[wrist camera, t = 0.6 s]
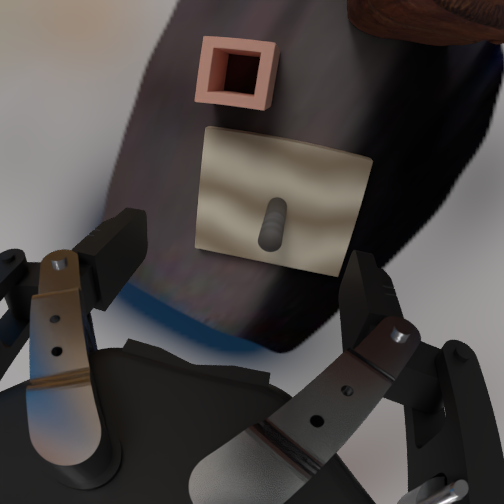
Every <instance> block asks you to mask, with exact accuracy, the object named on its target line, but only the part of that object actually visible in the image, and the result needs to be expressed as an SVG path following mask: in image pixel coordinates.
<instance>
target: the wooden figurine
mask: <svg viewBox="0 0 504 504" xmlns="http://www.w3.org/2000/svg"><path fill="white" fill-rule="evenodd" d="M347 10H348V19H349V20H350V22H351V23H352V24H353V25H354V26H355V27H356V28H358V29H359V30H361V31H364V32H366V33H368V34H370V35H373V36H376V37H381V38H387V39H397V40H405V41H412V42H416V43H421V44H426V45H435V46H447V45H466V44H474V43H477V42H480V41H482V40H488V41H489V42H490V43H494V44H502V43H504V0H347Z"/></svg>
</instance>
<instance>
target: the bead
mask: <svg viewBox="0 0 504 504" xmlns="http://www.w3.org/2000/svg"><path fill="white" fill-rule="evenodd" d="M229 54H235V55H244V56H253V57H260V63H259V69H258V75H257V82H256V88H255V94H248V93H240V92H233V91H224V85H225V78H226V71H227V65H228V58H229ZM279 56H280V50H279V48H278V46H277V45H276V43H273V42H265V41H257V40H248V39H238V38H227V37H211V36H204V37H203V44H202V50H201V57H200V64H199V71H198V79H197V87H196V95H195V102H203V103H212V104H221V105H229V106H236V107H244V108H250V109H257V110H263V111H264V110H266V109H268V108H269V107H271V103H272V97H273V91H274V85H275V79H276V73H277V67H278V62H279Z"/></svg>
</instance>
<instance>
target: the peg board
mask: <svg viewBox="0 0 504 504" xmlns="http://www.w3.org/2000/svg"><path fill="white" fill-rule="evenodd" d="M372 163H373V160H372V159H371V158H369V157H365V156H361V155H358V154H354V153H350V152H346V151H342V150H338V149H333V148H329V147H325V146H320V145H316V144H311V143H307V142H302V141H297V140H292V139H287V138H282V137H277V136H271V135H266V134H260V133H254V132H248V131H241V130H235V129H228V128H221V127H214V126H208V127H206V128H205V137H204V146H203V155H202V165H201V176H200V186H199V198H198V210H197V223H196V237H195V248H199V249H204V250H209V251H213V252H218V253H223V254H228V255H233V256H237V257H242V258H247V259H252V260H257V261H262V262H267V263H271V264H276V265H281V266H286V267H291V268H296V269H301V270H306V271H311V272H316V273H321V274H326V275H330V276H335V277H338V275H339V272H340V269H341V266H342V263H343V260H344V257H345V254H346V251H347V248H348V245H349V242H350V239H351V235H352V232H353V229H354V226H355V223H356V219H357V216H358V213H359V209H360V206H361V203H362V199H363V196H364V192H365V189H366V185H367V182H368V178H369V174H370V171H371V167H372Z"/></svg>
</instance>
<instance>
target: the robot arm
mask: <svg viewBox="0 0 504 504" xmlns="http://www.w3.org/2000/svg"><path fill="white" fill-rule="evenodd" d="M147 248H148V241H147V216H146V212H145V211H144V210H139V209H133V208H125V209H124V210H123V211H122V212H121V213H119V214H118V215H117V216H116V217H115V218H114V217H113V218H111V219H109V220H106V221H104V222H102V223H101V224H100V225H99V226H98V227H97V228H96V229H95V230H93V231H92V232H91V233H90V234H89V235H88V236H86V237H85V238H84V239H83V240H82V241H81V242H80V243H79V244H77V245H76V246H75V247H74V248H73V249H72V250H66V249H64V250H57V251H54V252H51V253H49V254H48V255H46V256H45V257H44V258H43V260H42V261H41V262H39V263H38V262H27V260H26V257H25V253H24V252H23V251H22V250H20V249H9V250H7V251H4V252H2V253H0V301H1V300H2V299H3V298H5V300H6V303H7V305H8V308H9V309H8V310H7V312H6V313H5V314H4V315H3V316H2V318H1V319H0V380H1V379H2V377H3V376H4V374H5V372H6V371H7V369H8V368H9V366H10V365H11V363H12V362H13V360H14V359H15V357H16V356H17V354H18V353H19V352H20V350H21V349H22V347H23V346H24V344H25V343H26V341H27V340H28V338H29V337H30V341H29V345H30V346H29V352H30V353H29V354H30V355H29V359H30V379H29V380H27V381H24V382H22V383H20V384H17V385H15V386H13V387H11V388H8V389H6V390H4V391H1V392H0V504H376V503H375V502H374V501H373V500H372V498H371V497H370V496H369V494H367V492H366V491H365V489H364V488H363V487H362V486H361V484H360V483H359V482H358V481H357V479H356V478H355V477H354V475H353V474H352V473H351V471H350V470H349V469H348V467H347V466H346V465H345V464H344V462H343V461H342V460H341V458H340V457H339V456H338V454H337V453H336V452H337V451H338V450H339V449H340V448H341V447H342V446H343V445H344V444H345V442H346V441H347V440H348V439H349V438H350V437H351V435H352V434H353V433H354V432H355V431H356V430H357V428H358V427H359V426H360V425H361V424H362V423H363V421H364V420H365V419H366V418H367V417H368V415H369V414H370V413H371V412H372V410H373V409H374V408H375V406H376V405H377V404H378V403H379V401H380V400H381V399H382V397H384V398H386V399H389V400H392V401H394V402H397V403H400V404H402V405H404V414H405V425H406V441H407V460H408V493H407V494H405V495H404V496H403V497H402V498H401V499H400V500H399V501H398V503H397V504H504V458H503V452H502V447H501V442H500V437H499V433H498V428H497V424H496V420H495V416H494V412H493V408H492V405H491V401H490V397H489V394H488V391H487V387H486V384H485V381H484V377H483V374H482V371H481V368H480V365H479V362H478V359H477V357H476V354H475V353H474V351H473V350H472V349H471V348H470V347H469V346H468V345H466V344H465V343H463V342H461V341H458V340H449V341H447V342H446V343H445V344H444V346H443V347H442V348H441V349H439V348H437V347H434V346H431V345H429V344H426V343H424V342H422V341H421V336H420V333H419V331H418V330H417V328H416V327H415V326H414V325H413V324H412V323H411V322H409V321H408V320H406V319H404V317H403V314H402V311H401V308H400V305H399V301H398V298H397V296H396V292H395V289H394V286H393V283H392V280H391V278H390V277H389V275H388V274H387V273H386V272H385V271H384V270H383V269H380V268H377V265H376V262H375V258H374V255H373V254H371V253H366V252H361V251H356V250H354V251H353V252H352V254H351V256H350V259H349V262H348V265H347V268H346V271H345V274H344V277H343V280H342V283H341V286H340V290H339V309H340V320H341V332H342V346H343V353H342V354H341V355H340V356H339V357H338V358H337V359H336V360H335V361H334V362H333V363H332V364H330V365H329V366H328V367H327V368H326V369H325V370H324V371H323V372H322V373H321V374H319V375H318V376H317V377H316V378H315V379H314V380H313V381H312V382H311V383H309V384H308V385H307V386H306V387H305V388H304V389H302V390H301V391H300V392H299V393H298V394H297V395H295V396H294V397H291V396H290V395H289V394H287V393H286V392H284V391H283V390H281V389H279V388H277V387H276V386H273V385H271V384H269V379H270V373H268V372H263V371H258V370H252V369H247V368H242V367H238V366H221V365H220V366H219V365H218V366H217V365H195V364H191V363H189V362H187V361H185V360H183V359H181V358H179V357H177V356H175V355H173V354H171V353H169V352H167V351H165V350H164V349H162V348H159V347H156V346H152V345H149V344H145V343H142V342H139V341H135V340H132V339H128V340H127V342H126V344H125V345H124V347H123V348H107V349H100V350H98V349H97V344H96V339H95V334H94V328H93V322H92V317H91V313H90V312H91V310H92V309H93V308H95V309H99V310H102V311H106V309H107V308H108V307H109V305H110V304H111V303H112V301H113V300H114V299H115V297H116V296H117V295H118V293H119V292H120V291H121V289H122V288H123V286H124V285H125V284H126V283H127V281H128V280H129V279H130V277H131V276H132V275H133V273H134V272H135V271H136V269H137V268H138V267H139V266H140V264H141V263H142V262H143V260H144V259H145V257H146V254H147ZM444 408H445V411H444ZM445 413H446V417H445Z"/></svg>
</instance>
